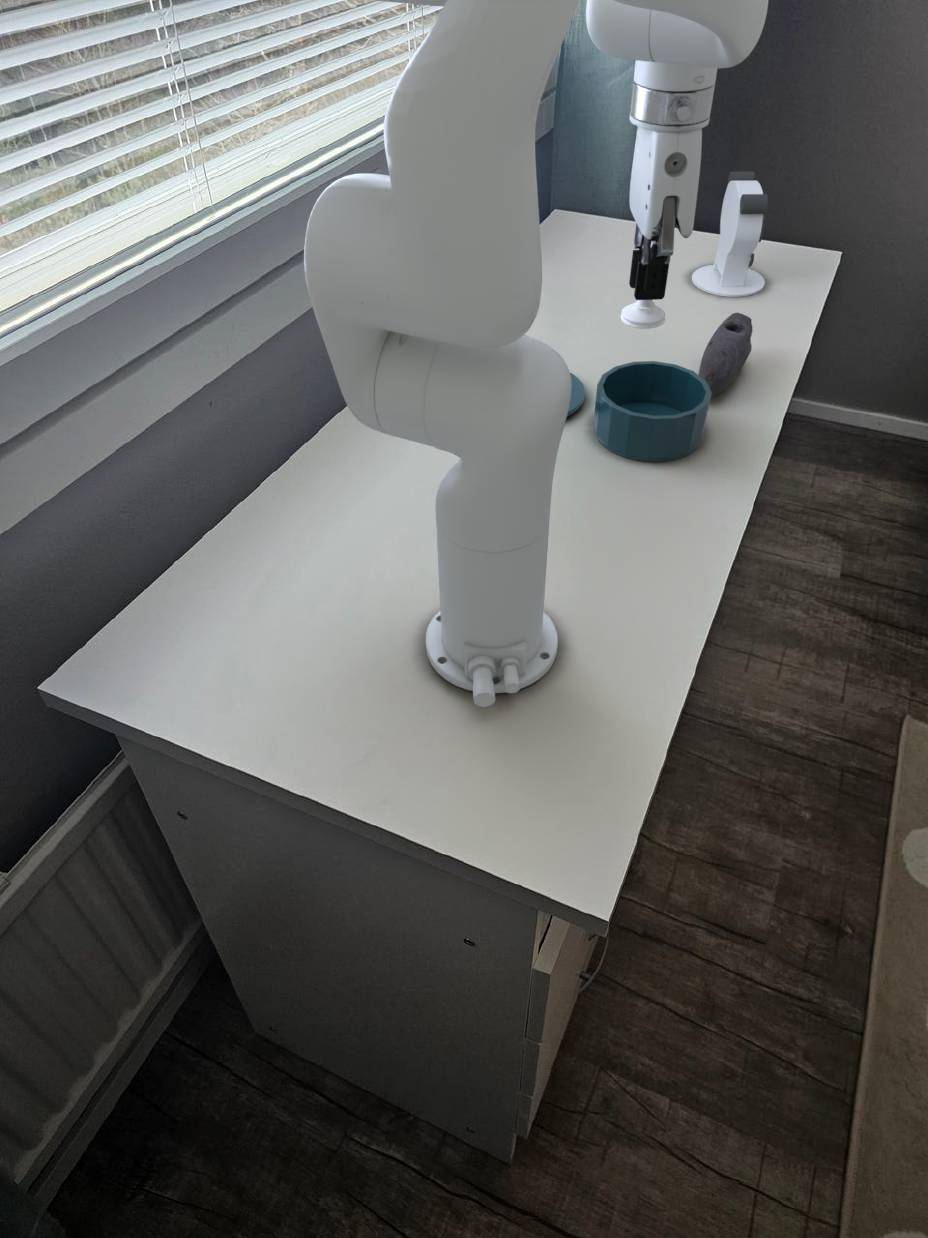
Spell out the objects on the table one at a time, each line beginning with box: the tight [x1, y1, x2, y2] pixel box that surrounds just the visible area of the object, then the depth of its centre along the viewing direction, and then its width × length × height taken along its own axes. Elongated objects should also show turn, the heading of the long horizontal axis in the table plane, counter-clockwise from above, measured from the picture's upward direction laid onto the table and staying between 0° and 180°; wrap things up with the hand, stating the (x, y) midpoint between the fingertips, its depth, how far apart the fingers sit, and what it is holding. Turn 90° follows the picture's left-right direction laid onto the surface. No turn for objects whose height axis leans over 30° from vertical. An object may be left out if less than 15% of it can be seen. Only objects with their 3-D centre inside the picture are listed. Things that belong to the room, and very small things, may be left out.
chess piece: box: [620, 229, 666, 330], centre depth 95 cm, size 5×5×10 cm
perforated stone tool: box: [698, 312, 753, 398], centre depth 117 cm, size 15×5×7 cm, turn 150°
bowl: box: [593, 360, 712, 463], centre depth 109 cm, size 13×13×6 cm
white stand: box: [691, 171, 769, 298], centre depth 136 cm, size 12×11×15 cm
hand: (646, 291), depth 97 cm, fingers closed on chess piece
